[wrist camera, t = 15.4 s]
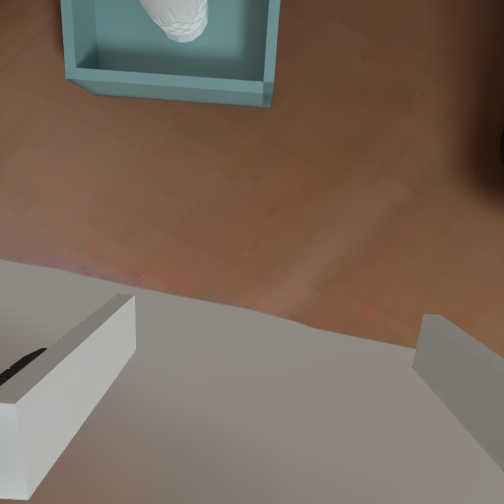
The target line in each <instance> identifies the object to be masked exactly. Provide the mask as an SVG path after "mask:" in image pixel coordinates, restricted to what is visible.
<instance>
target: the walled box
mask: <svg viewBox="0 0 504 504" xmlns="http://www.w3.org/2000/svg"><path fill="white" fill-rule="evenodd" d="M207 2H208V7H209V11H208V23H207V25H206V27H205V29H204V31H203V33H202V34H201V35H200V36H199V37H197V38H196V39H194V40H193V41H191V42H183V43H179V42H177V41H174V40H172V39H169V38H168V37H167V36H166V35H165V34H164V33H163V32H162V31H161V29H160V28H159V27H158V25H157V24H156V23H155V22H154V21H153V19H152V18H151V17H150V15H149V14H148V13H147V11H146V10H145V9H144V7H143V6H142V5H141V3H140V2H139V0H61V15H62V29H63V44H64V59H65V73H66V79H68V80H69V81H71V82H73V83H74V84H76V85H78V86H80V87H81V88H83V89H85V90H87V91H88V92H90V93H92V94H94V95H104V96H118V97H131V98H145V99H158V100H172V101H186V102H199V103H213V104H226V105H240V106H254V107H267V108H270V105H271V101H272V96H273V87H274V74H275V61H276V48H277V35H278V22H279V9H280V0H207Z"/></svg>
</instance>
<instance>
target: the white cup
mask: <svg viewBox="0 0 504 504" xmlns="http://www.w3.org/2000/svg"><path fill="white" fill-rule="evenodd" d="M139 2H140V3H141V5H142V6H143V7H144V9H145V10H146V11H147V13H148V14H149V15H150V17H151V18H152V19H153V21H154V22H155V23H156V24H157V25H158V27H159V28H160V29H161V31H162V32H163V33H164V34H165V35H166V36H167V37H168V38H169V39H172V40H174V41H177V42H179V43H183V42H191V41H193V40H194V39H196V38H197V37H199V36H200V35H201V34H202V33H203V31H204V29H205V27H206V25H207V23H208V11H209V7H208V2H207V0H139Z"/></svg>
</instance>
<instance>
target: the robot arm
mask: <svg viewBox="0 0 504 504" xmlns="http://www.w3.org/2000/svg"><path fill="white" fill-rule="evenodd" d="M502 156H503V160H504V133H503V139H502ZM135 350H136V330H135V295H130V294H117V295H115V296H114V297H113V298H112V299H110V300H109V301H108V302H106V303H105V304H104V305H103V306H101V307H100V308H99V309H98V310H96V311H95V312H94V313H93V314H91V315H90V316H89V317H87V318H86V319H85V320H84V321H82V322H81V323H80V324H79V325H77V326H76V327H75V328H74V329H72V330H71V331H70V332H68V333H67V334H66V335H65V336H63V337H62V338H61V339H60V340H58V341H57V342H56V343H54V344H53V345H52V346H51V347H49V348H41V349H39V350H37V351H35V352H33V353H31V354H28V355H26V356H24V357H23V358H21V359H20V360H19V361H18V362H16V363H15V364H13V365H12V366H11V367H10V369H7V370H5V371H4V372H3V373H1V374H0V498H3V499H21V500H28V499H29V498H30V496H31V495H32V493H33V492H34V491H35V489H36V488H37V487H38V485H39V484H40V482H41V481H42V480H43V478H44V477H45V475H46V474H47V473H48V471H49V470H50V469H51V467H52V466H53V464H54V463H55V461H56V460H57V459H58V457H59V456H60V454H61V453H62V452H63V451H64V449H65V448H66V446H67V445H68V444H69V442H70V441H71V439H72V438H73V436H74V435H75V433H76V432H77V431H78V430H79V428H80V427H81V425H82V424H83V423H84V421H85V420H86V419H87V417H88V416H89V414H90V413H91V412H92V410H93V409H94V407H95V406H96V404H97V403H98V402H99V400H100V399H101V398H102V396H103V395H104V394H105V392H106V391H107V389H108V388H109V386H110V385H111V384H112V382H113V381H114V380H115V378H116V377H117V375H118V374H119V373H120V371H121V370H122V368H123V367H124V366H125V364H126V363H127V362H128V360H129V359H130V357H131V356H132V355H133V353H134V352H135ZM412 368H413V369H414V370H415V371H416V373H418V375H419V376H420V377H421V378H422V379H423V380H424V382H425V383H426V384H427V385H428V386H429V387H430V389H431V390H432V391H433V392H434V393H435V394H436V395H437V396H438V398H439V399H440V400H441V401H442V402H443V403H444V404H445V405H446V407H447V408H448V409H449V410H450V411H451V412H452V414H453V415H454V416H455V417H456V418H457V419H458V420H459V421H460V423H461V424H462V425H463V426H464V427H465V428H466V430H467V431H468V432H469V433H470V434H471V435H472V436H473V438H475V440H476V441H477V442H478V443H479V444H480V446H481V447H482V448H483V449H484V450H485V451H486V452H487V454H488V455H489V456H490V457H491V458H492V459H493V460H494V461H495V463H496V464H497V465H498V466H499V467H500V468H501V469H502V471H503V472H504V358H502V357H501V356H499V355H498V354H496V353H495V352H493V351H492V350H490V349H489V348H488V347H486V346H485V345H483V344H482V343H480V342H479V341H477V340H476V339H474V338H473V337H472V336H470V335H469V334H467V333H466V332H464V331H463V330H461V329H460V328H458V327H457V326H456V325H454V324H453V323H451V322H450V321H448V320H447V319H445V318H444V317H442V316H441V315H431V314H424V315H423V320H422V325H421V329H420V334H419V338H418V343H417V347H416V352H415V357H414V362H413V366H412Z"/></svg>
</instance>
